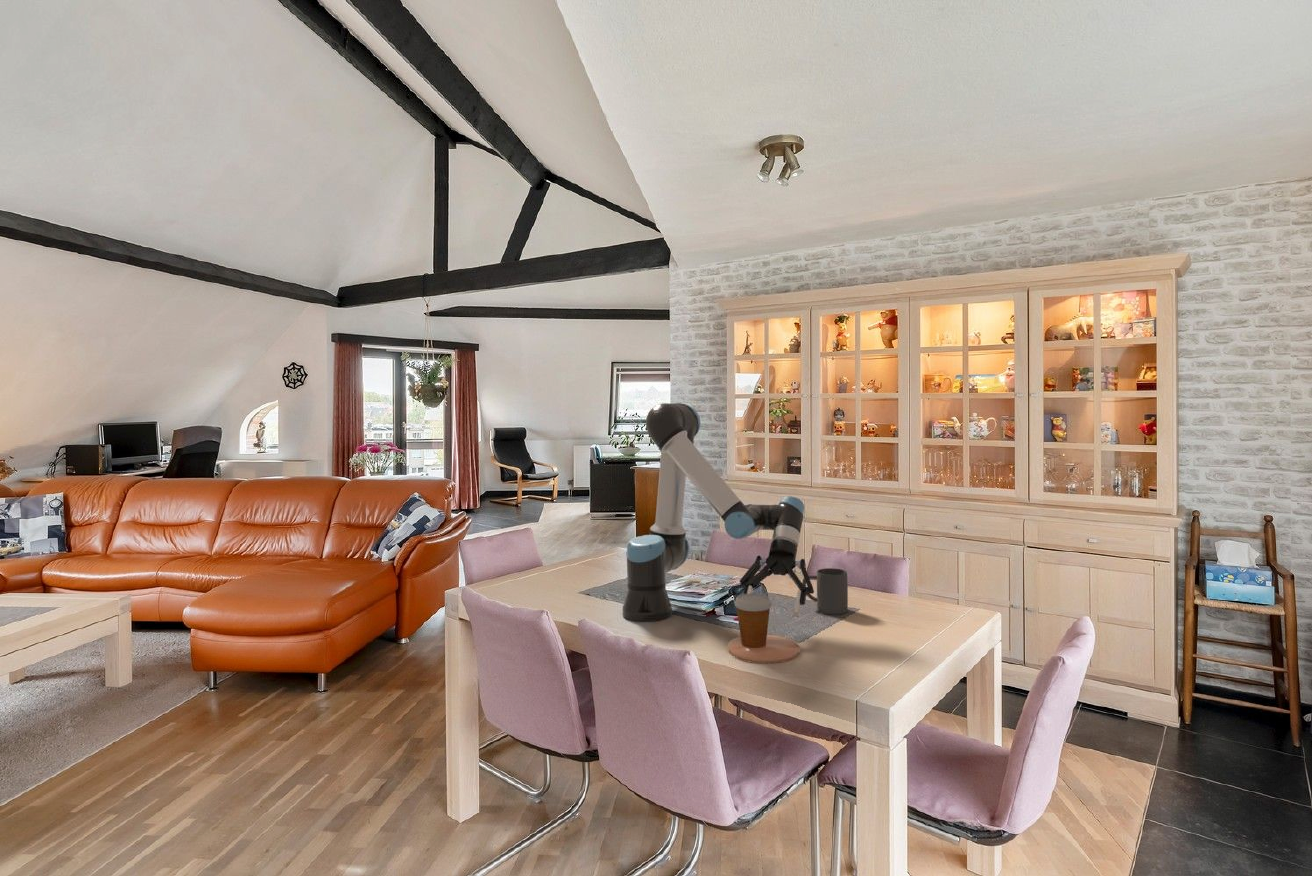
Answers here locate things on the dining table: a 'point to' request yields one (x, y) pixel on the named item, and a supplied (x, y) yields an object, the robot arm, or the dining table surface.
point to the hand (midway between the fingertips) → (771, 612)
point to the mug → (830, 590)
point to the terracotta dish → (765, 650)
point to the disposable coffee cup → (753, 619)
